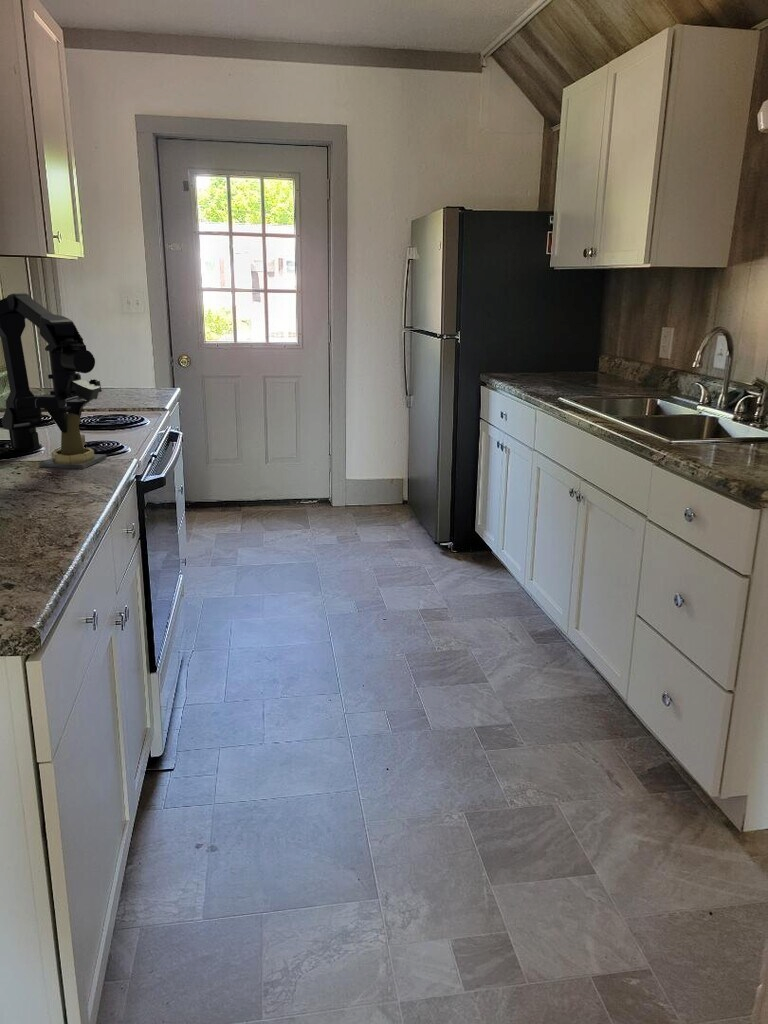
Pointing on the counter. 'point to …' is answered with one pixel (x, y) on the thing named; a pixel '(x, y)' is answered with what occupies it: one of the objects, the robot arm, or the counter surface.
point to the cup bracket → (73, 459)
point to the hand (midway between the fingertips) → (70, 430)
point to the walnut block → (83, 439)
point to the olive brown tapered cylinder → (72, 437)
